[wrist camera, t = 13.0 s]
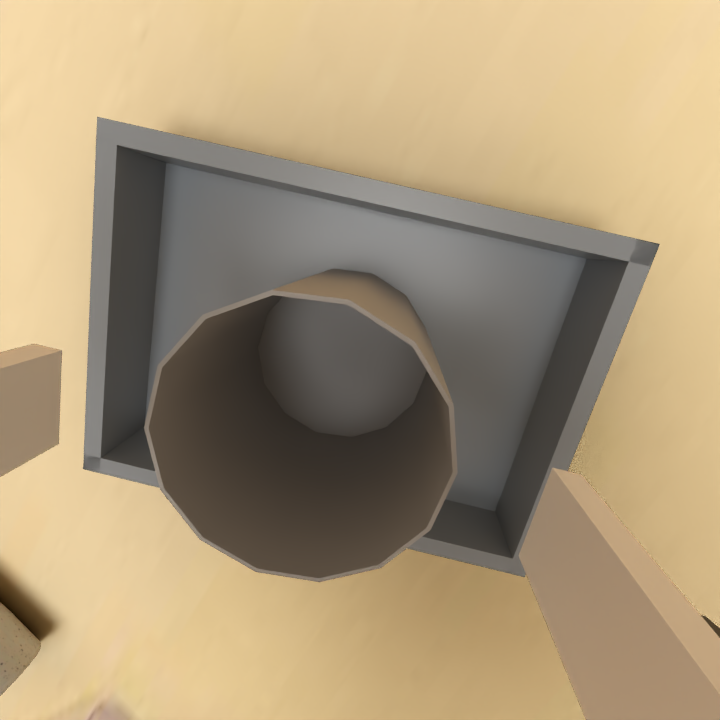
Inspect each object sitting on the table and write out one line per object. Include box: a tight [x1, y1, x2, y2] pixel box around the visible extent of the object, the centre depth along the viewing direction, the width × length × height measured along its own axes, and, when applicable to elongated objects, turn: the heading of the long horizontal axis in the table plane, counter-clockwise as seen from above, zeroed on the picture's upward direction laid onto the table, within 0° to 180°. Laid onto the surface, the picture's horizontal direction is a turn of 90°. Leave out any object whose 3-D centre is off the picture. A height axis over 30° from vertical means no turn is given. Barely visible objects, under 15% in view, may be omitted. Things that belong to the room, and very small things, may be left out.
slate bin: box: [83, 117, 660, 577], centre depth 19 cm, size 15×21×4 cm
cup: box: [144, 268, 458, 582], centre depth 16 cm, size 8×8×10 cm
